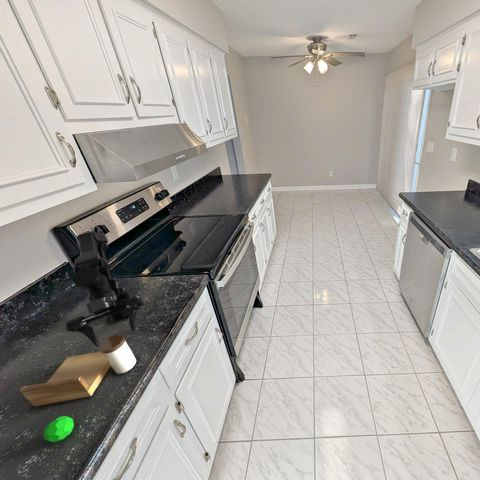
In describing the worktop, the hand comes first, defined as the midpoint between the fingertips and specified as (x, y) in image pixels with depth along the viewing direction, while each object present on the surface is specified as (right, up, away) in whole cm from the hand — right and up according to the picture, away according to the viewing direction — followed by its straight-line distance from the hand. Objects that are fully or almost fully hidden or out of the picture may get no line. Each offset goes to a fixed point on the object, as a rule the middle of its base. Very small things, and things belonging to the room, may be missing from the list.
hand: (115, 338), depth 79 cm
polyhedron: (+2, -17, -18) cm, 24 cm away
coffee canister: (+4, -8, -1) cm, 9 cm away
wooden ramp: (-7, -10, -4) cm, 13 cm away
